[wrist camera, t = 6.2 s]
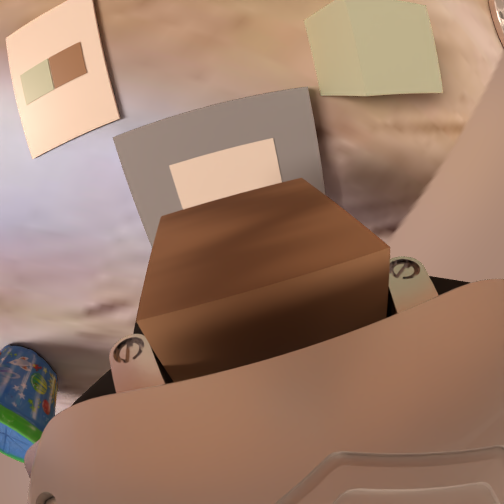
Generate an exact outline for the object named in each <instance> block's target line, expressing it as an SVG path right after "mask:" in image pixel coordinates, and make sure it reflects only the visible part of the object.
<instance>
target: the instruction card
mask: <svg viewBox="0 0 504 504" xmlns="http://www.w3.org/2000/svg"><path fill="white" fill-rule="evenodd" d="M6 44H7V52H8V59H9V66H10V72H11V77H12V83H13V88H14V93H15V97H16V102H17V106H18V110H19V114H20V118H21V122H22V126H23V129H24V133H25V136H26V140H27V143H28V146H29V150H30V153H31V156H32V159H34V158H36V157H38V156H40V155H42V154H43V153H45V152H47V151H49V150H51V149H53V148H55V147H57V146H59V145H61V144H63V143H65V142H67V141H69V140H71V139H73V138H76V137H78V136H80V135H82V134H84V133H87V132H89V131H91V130H93V129H96V128H98V127H101V126H103V125H105V124H108V123H110V122H113V121H115V120H118V119H120V114H119V111H118V107H117V104H116V100H115V96H114V92H113V89H112V85H111V81H110V77H109V73H108V69H107V65H106V60H105V56H104V52H103V47H102V43H101V38H100V33H99V28H98V23H97V18H96V13H95V7H94V1H93V0H68V1H66V2H64V3H62V4H60V5H58V6H56V7H55V8H53V9H51V10H49V11H47V12H46V13H44V14H42V15H41V16H39V17H37V18H36V19H34V20H32V21H31V22H29V23H28V24H26V25H24V26H23V27H21V28H20V29H18V30H17V31H15V32H14V33H13V34H11V35H10V36H8V37H7V38H6Z"/></svg>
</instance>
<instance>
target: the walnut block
mask: <svg viewBox="0 0 504 504" xmlns="http://www.w3.org/2000/svg"><path fill="white" fill-rule="evenodd" d="M389 269H390V247H389V246H388V245H387V244H386V243H384V242H383V241H382V240H381V239H380V238H379V237H377V236H376V235H375V234H374V233H373V232H371V231H370V230H369V229H368V228H366V227H365V226H364V225H363V224H362V223H360V222H359V221H358V220H357V219H355V218H354V217H353V216H352V215H350V214H349V213H348V212H347V211H345V210H344V209H343V208H341V207H340V206H339V205H338V204H336V203H335V202H334V201H332V200H331V199H330V198H328V197H327V196H326V195H324V194H323V193H322V192H321V191H319V190H318V189H316V188H315V187H314V186H312V185H311V184H310V183H308V182H307V181H306V180H304V179H303V178H298V179H294V180H290V181H286V182H282V183H278V184H274V185H270V186H266V187H262V188H258V189H254V190H250V191H247V192H243V193H239V194H235V195H232V196H228V197H225V198H221V199H217V200H214V201H210V202H207V203H203V204H200V205H197V206H193V207H190V208H186V209H183V210H180V211H177V212H173V213H170V214H167V215H164V216H161V218H160V221H159V225H158V229H157V232H156V236H155V240H154V244H153V248H152V252H151V256H150V260H149V264H148V268H147V272H146V276H145V281H144V285H143V290H142V294H141V299H140V304H139V309H138V314H137V319H136V322H137V324H138V326H139V327H140V329H141V331H142V332H143V334H144V336H145V337H146V339H147V341H148V342H149V344H150V346H151V347H152V349H153V351H154V352H155V354H156V355H157V357H158V359H159V360H160V362H161V363H162V365H163V366H164V368H165V369H166V371H167V373H168V374H169V376H170V377H171V379H172V380H173V382H178V381H183V380H187V379H192V378H196V377H201V376H205V375H209V374H213V373H218V372H222V371H226V370H230V369H234V368H238V367H241V366H245V365H249V364H252V363H256V362H260V361H263V360H267V359H270V358H274V357H277V356H280V355H284V354H287V353H290V352H293V351H296V350H300V349H303V348H306V347H309V346H312V345H315V344H318V343H321V342H324V341H327V340H329V339H332V338H335V337H338V336H341V335H343V334H346V333H349V332H351V331H354V330H357V329H359V328H362V327H365V326H367V325H370V324H372V323H375V322H377V321H380V320H382V319H385V318H386V314H387V302H388V288H389Z"/></svg>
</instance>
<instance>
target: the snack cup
mask: <svg viewBox="0 0 504 504" xmlns="http://www.w3.org/2000/svg"><path fill="white" fill-rule="evenodd" d="M57 388H58V384H57V375H56V373H55V372H54V371H53V370H52V368H51V367H50V366H49V364H48V363H47V362H46V361H45V360H44V359H43V358H41V357H40V356H39V355H37V353H36V352H34V351H33V350H31V349H30V350H28V349H27V348H24V347H21V346H10V345H7V346H5V347H4V348H3V349H2V350H1V351H0V452H1V453H3V454H5V455H7V456H9V457H11V458H13V459H15V460H17V461H20V462H23V463H24V458H25V454H26V452H27V450H28V449H29V448H30V447H31V446H32V445H33V444H34V443H36V442H37V441H38V440H39V439H40V438H41V435H42V433H43V431H44V429H45V427H46V425H47V424H48V422H49V421H50V420H51V419H52V418H53V417H54V416H55V406H56V396H57Z"/></svg>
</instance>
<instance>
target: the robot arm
mask: <svg viewBox="0 0 504 504" xmlns="http://www.w3.org/2000/svg"><path fill="white" fill-rule="evenodd" d="M489 7H490V11H491V15H492V19H493V22H494V25H495V28H496V30H497V33H498V36H499V38H500V40H501V42H502V45H503V47H504V0H489ZM140 299H141V298H140ZM139 304H140V303H139ZM138 309H139V308H138ZM137 314H138V313H137ZM136 319H137V318H136ZM109 361H110V366H111V369H110V370H109V371H108V372H107V373H106V374H105V375H104V376H103V377H101V378H100V379H99V380H98V381H97V382H96V383H95V384H94V385H93V386H92V387H90V388H89V389H88V390H87V391H86V392H85V393H84V394H83V395H82V396H81V397H80V398H78V399H77V400H76V401H75V402H74V403H73V405H72V406H71V407H69V408H67V409H65V410H63V411H61V412H60V413H58V414H57V415H56V416H54V417H53V418H52V419H51V420H50V421H49V422H48V424H47V425H46V427H45V429H44V431H43V433H42V435H41V438H40V439H39V440H38V441H37V442H36V443H34V444H33V445H32V446H31V447H30V448H29V449H28V450H27V452H26V454H25V458H24V464H25V468H26V470H27V472H28V475H29V477H30V484H29V492H28V500H27V504H504V279H487V280H480V281H476V282H472V283H470V282H463V281H457V280H450V279H444V278H438V277H432V276H429V275H428V273H427V271H426V269H425V268H424V266H423V265H422V263H421V262H419V261H418V260H416V259H414V258H411V257H395V258H392V259H390V269H389V288H388V302H387V314H386V318H385V319H382V320H380V321H377V322H375V323H372V324H370V325H367V326H365V327H362V328H359V329H357V330H354V331H351V332H349V333H346V334H343V335H341V336H338V337H335V338H332V339H329V340H327V341H324V342H321V343H318V344H315V345H312V346H309V347H306V348H303V349H300V350H296V351H293V352H290V353H287V354H284V355H280V356H277V357H274V358H270V359H267V360H263V361H260V362H256V363H252V364H249V365H245V366H241V367H238V368H234V369H230V370H226V371H222V372H218V373H213V374H209V375H205V376H201V377H196V378H192V379H187V380H183V381H178V382H173V380H172V379H171V377H170V376H169V374H168V373H167V371H166V369H165V368H164V366H163V365H162V363H161V362H160V360H159V359H158V357H157V355H156V354H155V352H154V351H153V349H152V347H151V346H150V344H149V342H148V341H147V339H146V337H145V336H144V334H143V332H142V331H141V329H140V327H139V326H138V324H137V322H136V323H135V328H134V334H131V335H128V336H125V337H123V338H122V339H120V340H119V341H118V342H116V343H115V344H114V346H113V347H112V348H111V351H110V353H109Z"/></svg>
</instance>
